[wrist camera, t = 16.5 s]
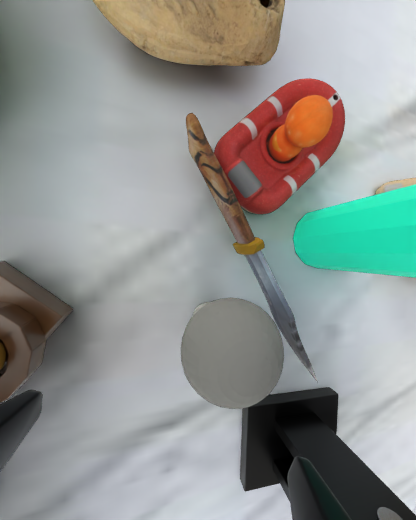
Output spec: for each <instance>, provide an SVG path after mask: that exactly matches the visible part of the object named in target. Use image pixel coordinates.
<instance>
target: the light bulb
mask: <svg viewBox="0 0 416 520" xmlns="http://www.w3.org/2000/svg"><path fill="white" fill-rule="evenodd" d="M181 361H182V365H183V369H184V373H185V375H186V377H187V379H188V381H189V383H190V385H191V386H192V387H193V388H194V390H195V391H196V392H197V393H198V394H199V395H200V396H201V397H203V398H204V399H205V400H207V401H208V402H210V403H213V404H215V405H217V406H220V407H224V408H229V409H241V408H246V407H250V406H252V405H254V404H256V403H258V402H260V401H261V400H263V399H264V398H265V397H266V396H267V395H268V394H269V393H270V392H271V391H272V390H273V388H274V387H275V386H276V384H277V382H278V380H279V378H280V375H281V372H282V368H283V361H284V351H283V344H282V340H281V336H280V333H279V331H278V329H277V327H276V325H275V323H274V322H273V320H272V319H271V317H270V316H269V315H268V314H267V313H266V312H265V311H264V310H263V309H262V308H260V307H258V306H257V305H255V304H253V303H251V302H249V301H246V300H243V299H237V298H224V299H218V300H215V301H212V302H205V303H202V304H200V305H199V306H197V308H196V309H195V310H194V312H193V316H192V318H191V319H190V321H189V323H188V325H187V326H186V329H185V332H184V335H183V338H182V344H181Z"/></svg>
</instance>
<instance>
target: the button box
mask: <svg viewBox="0 0 416 520" xmlns="http://www.w3.org/2000/svg"><path fill="white" fill-rule="evenodd" d="M72 311H73V308H72V307H70V306H69V305H67V304H66V303H64V302H63V301H61V300H60V299H58V298H57V297H56V296H54V295H53V294H51V293H50V292H48V291H47V290H45V289H44V288H43V287H41V286H40V285H38V284H37V283H35V282H34V281H32V280H31V279H29V278H28V277H27V276H25V275H24V274H22V273H21V272H19V271H18V270H16V269H15V268H14V267H12V266H11V265H9V264H8V263H6V262H5V261H0V341H1V343H2V344H3V346H4V348H5V351H6V360H5V363H4V366H3V368H2V369H1V371H0V402H3V401H5V400H7V399H9V398H10V397H11V396H12V395H13V394H14V393H15V392H16V391H17V390H18V389H19V388H20V387H21V386H22V385H23V384H24V383H25V382H26V381H27V380H28V379H29V377H30V376H31V375H32V374H33V373H34V372H35V371H36V370H37V368H38V367H39V366H40V365H41V364H42V361H43V356H44V350H45V345H46V340H47V339H48V337H49V336H50V335H51V334H52V333H53V332H54V331H55V330H56V328H57V327H58V326H59V325H60V324H61V323H62V322H63V321H64V320H65V318H66V317H67V316H68V315H69V314H70V313H71V312H72Z"/></svg>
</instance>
